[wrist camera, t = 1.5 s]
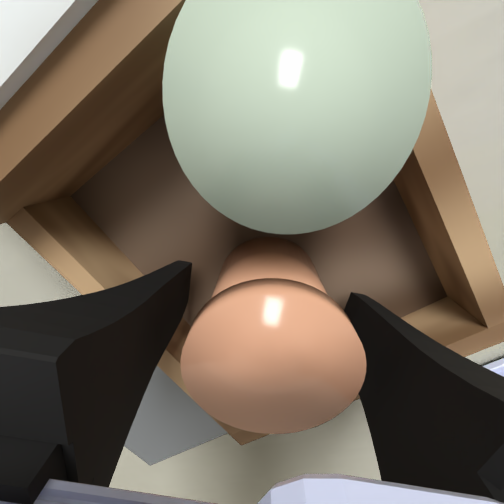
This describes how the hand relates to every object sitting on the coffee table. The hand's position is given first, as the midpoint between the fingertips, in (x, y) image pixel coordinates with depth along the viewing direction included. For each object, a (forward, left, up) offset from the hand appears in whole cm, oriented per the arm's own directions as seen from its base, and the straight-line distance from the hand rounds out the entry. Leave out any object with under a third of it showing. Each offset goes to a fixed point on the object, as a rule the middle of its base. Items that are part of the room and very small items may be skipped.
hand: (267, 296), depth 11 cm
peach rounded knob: (0, 0, -1) cm, 1 cm away
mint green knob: (+5, -4, -1) cm, 7 cm away
